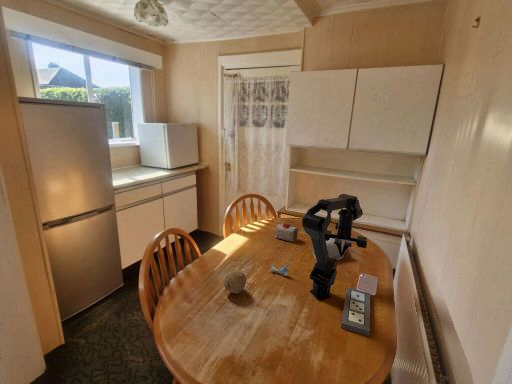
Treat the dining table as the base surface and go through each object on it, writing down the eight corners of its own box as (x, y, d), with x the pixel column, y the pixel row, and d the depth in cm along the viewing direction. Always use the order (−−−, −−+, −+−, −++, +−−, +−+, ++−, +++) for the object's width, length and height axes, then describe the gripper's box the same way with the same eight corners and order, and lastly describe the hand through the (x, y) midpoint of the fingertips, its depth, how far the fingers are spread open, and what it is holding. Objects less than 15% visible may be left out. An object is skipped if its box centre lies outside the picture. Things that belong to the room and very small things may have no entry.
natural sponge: (225, 301, 101) (225, 279, 98) (222, 287, 109) (222, 266, 106) (248, 297, 103) (248, 276, 100) (243, 284, 111) (243, 264, 109)
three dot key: (363, 317, 94) (364, 312, 93) (348, 313, 96) (349, 308, 95) (363, 309, 98) (364, 303, 98) (349, 305, 100) (350, 299, 100)
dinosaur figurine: (283, 279, 121) (270, 267, 123) (298, 263, 115) (284, 250, 117) (281, 282, 119) (268, 269, 121) (296, 265, 113) (282, 253, 115)
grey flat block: (369, 336, 86) (369, 331, 85) (341, 327, 89) (341, 322, 89) (369, 297, 105) (369, 293, 105) (346, 291, 109) (346, 287, 108)
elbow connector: (350, 264, 128) (344, 246, 147) (347, 245, 125) (342, 229, 144) (314, 267, 132) (313, 249, 151) (311, 248, 130) (310, 232, 148)
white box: (272, 238, 157) (273, 223, 155) (278, 234, 164) (279, 219, 162) (293, 243, 151) (294, 228, 149) (298, 239, 158) (299, 224, 155)
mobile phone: (356, 288, 110) (360, 271, 123) (356, 290, 110) (360, 273, 123) (375, 294, 106) (378, 276, 119) (375, 296, 107) (377, 278, 119)
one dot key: (363, 306, 100) (364, 301, 99) (350, 302, 102) (350, 297, 101) (363, 298, 104) (364, 293, 104) (350, 295, 106) (351, 290, 105)
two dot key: (362, 329, 88) (363, 324, 88) (347, 325, 90) (348, 319, 89) (363, 320, 93) (364, 314, 92) (348, 315, 94) (349, 310, 94)
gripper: (369, 220, 113) (364, 252, 117) (326, 214, 120) (322, 244, 124) (369, 229, 103) (363, 264, 107) (322, 221, 110) (318, 254, 114)
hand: (341, 256), depth 114 cm, fingers closed
